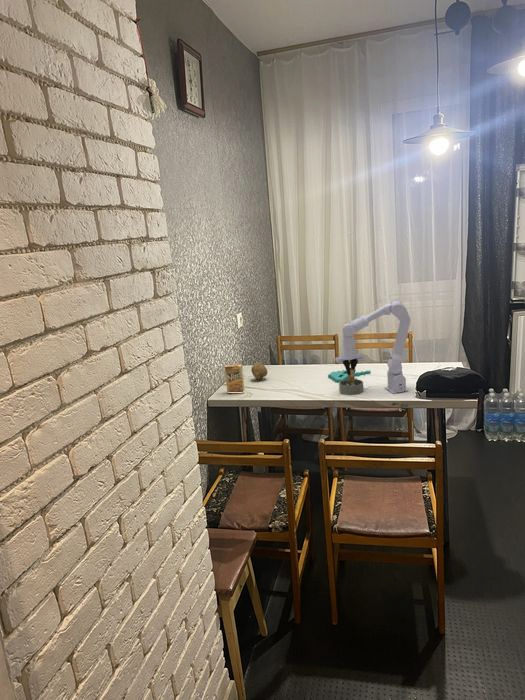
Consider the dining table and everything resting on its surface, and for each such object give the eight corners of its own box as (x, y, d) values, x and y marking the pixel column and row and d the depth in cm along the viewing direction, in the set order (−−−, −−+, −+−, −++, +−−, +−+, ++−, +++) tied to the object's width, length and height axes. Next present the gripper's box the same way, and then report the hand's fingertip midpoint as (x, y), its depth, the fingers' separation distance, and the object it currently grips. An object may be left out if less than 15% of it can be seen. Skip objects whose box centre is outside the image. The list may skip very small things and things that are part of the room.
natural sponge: (267, 376, 290) (265, 360, 288) (269, 381, 281) (267, 364, 279) (251, 378, 289) (250, 362, 287) (253, 383, 280) (251, 366, 278)
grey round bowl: (367, 392, 247) (366, 383, 246) (345, 396, 245) (344, 387, 244) (357, 386, 258) (357, 377, 257) (336, 389, 256) (335, 381, 255)
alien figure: (370, 374, 278) (337, 372, 288) (370, 370, 277) (337, 368, 288) (358, 385, 261) (323, 382, 272) (358, 381, 261) (323, 378, 271)
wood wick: (354, 383, 248) (353, 369, 247) (351, 383, 248) (350, 370, 246) (350, 380, 253) (350, 367, 251) (347, 381, 252) (347, 367, 251)
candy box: (227, 394, 264) (224, 366, 261) (229, 391, 268) (226, 364, 265) (243, 393, 263) (240, 365, 259) (245, 391, 267) (242, 363, 263)
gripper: (359, 344, 251) (360, 370, 255) (332, 348, 249) (334, 374, 252) (365, 347, 245) (366, 373, 248) (337, 351, 242) (339, 377, 245)
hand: (350, 374), depth 249 cm, fingers closed on wood wick, 1 cm apart
